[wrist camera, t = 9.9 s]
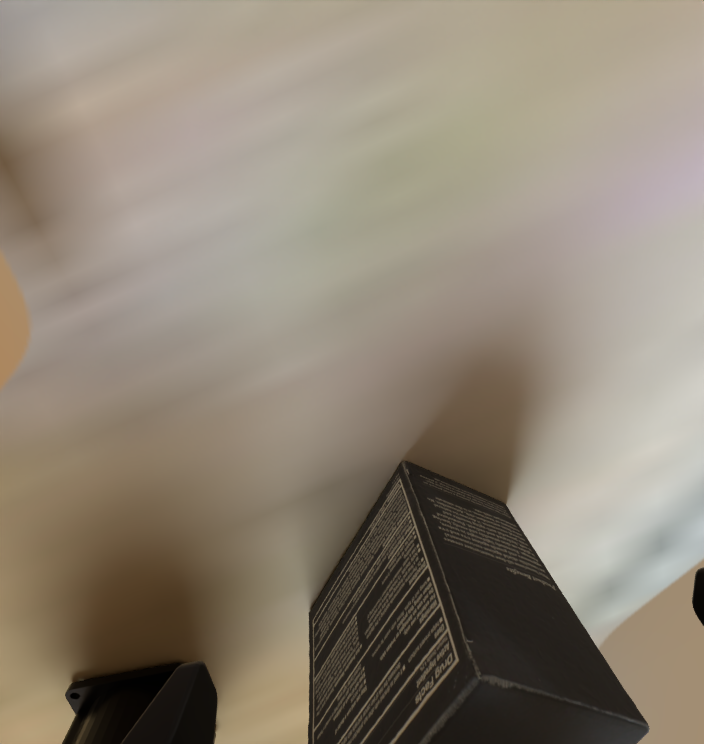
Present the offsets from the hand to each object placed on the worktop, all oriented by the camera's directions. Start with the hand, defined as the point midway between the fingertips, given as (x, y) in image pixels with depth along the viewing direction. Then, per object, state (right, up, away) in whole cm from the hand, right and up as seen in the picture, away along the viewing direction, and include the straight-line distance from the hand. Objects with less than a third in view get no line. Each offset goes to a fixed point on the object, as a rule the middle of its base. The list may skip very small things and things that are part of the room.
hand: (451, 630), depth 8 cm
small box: (+1, -5, +15) cm, 16 cm away
